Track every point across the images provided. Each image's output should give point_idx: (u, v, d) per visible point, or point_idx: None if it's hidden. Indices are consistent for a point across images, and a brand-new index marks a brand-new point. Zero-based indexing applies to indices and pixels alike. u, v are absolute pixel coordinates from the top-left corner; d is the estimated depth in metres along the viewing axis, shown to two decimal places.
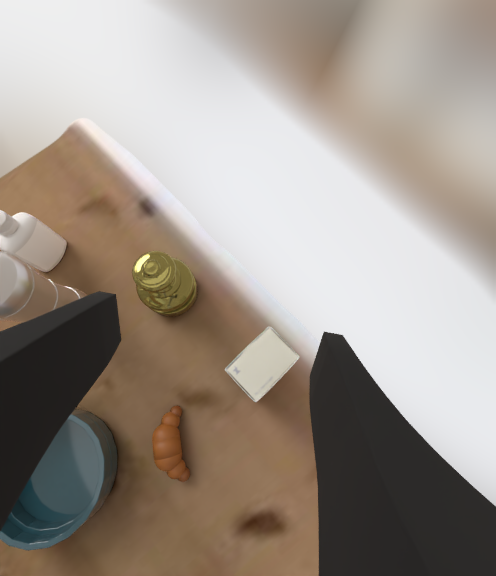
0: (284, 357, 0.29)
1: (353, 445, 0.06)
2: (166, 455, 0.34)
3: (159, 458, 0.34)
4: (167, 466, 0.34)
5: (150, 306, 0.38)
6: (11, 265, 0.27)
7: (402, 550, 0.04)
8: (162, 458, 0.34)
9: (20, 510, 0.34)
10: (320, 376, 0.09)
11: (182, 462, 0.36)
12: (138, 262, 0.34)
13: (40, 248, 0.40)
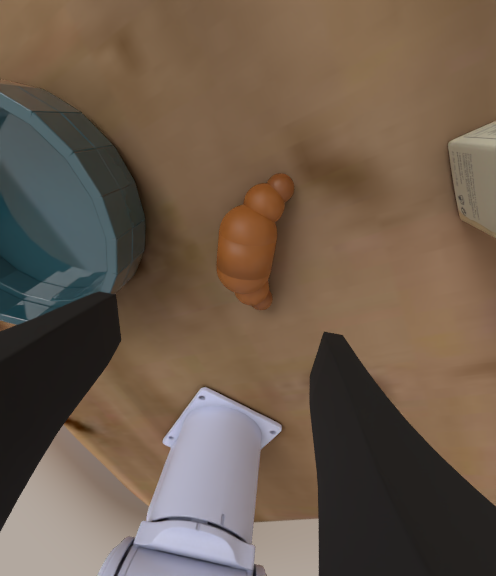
0: None
1: (353, 445, 0.06)
2: (244, 274, 0.16)
3: (228, 274, 0.16)
4: (240, 291, 0.17)
5: None
6: None
7: (402, 550, 0.04)
8: (235, 276, 0.16)
9: None
10: (320, 377, 0.09)
11: (266, 285, 0.18)
12: None
13: None
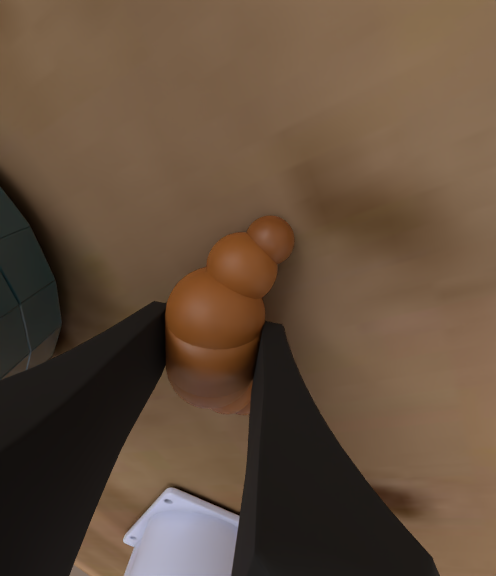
0: None
1: (258, 426, 0.06)
2: (208, 390, 0.09)
3: (180, 386, 0.09)
4: None
5: None
6: None
7: (253, 518, 0.04)
8: (192, 392, 0.09)
9: None
10: (256, 364, 0.09)
11: (250, 385, 0.11)
12: None
13: None
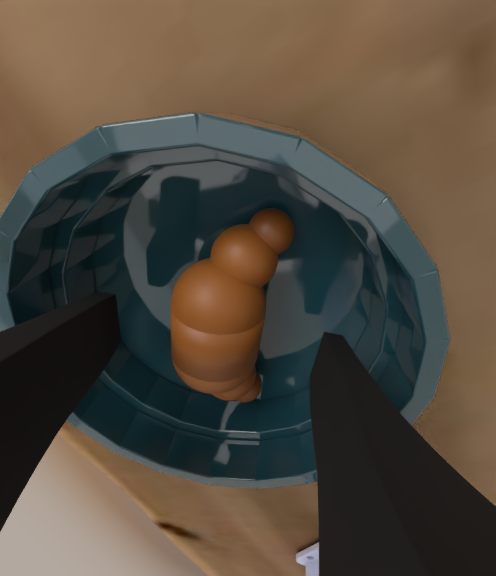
0: None
1: (353, 445, 0.06)
2: (212, 374, 0.10)
3: (185, 371, 0.10)
4: (207, 392, 0.11)
5: None
6: None
7: (402, 550, 0.04)
8: (197, 376, 0.10)
9: (121, 357, 0.14)
10: (320, 376, 0.09)
11: (251, 373, 0.12)
12: None
13: None
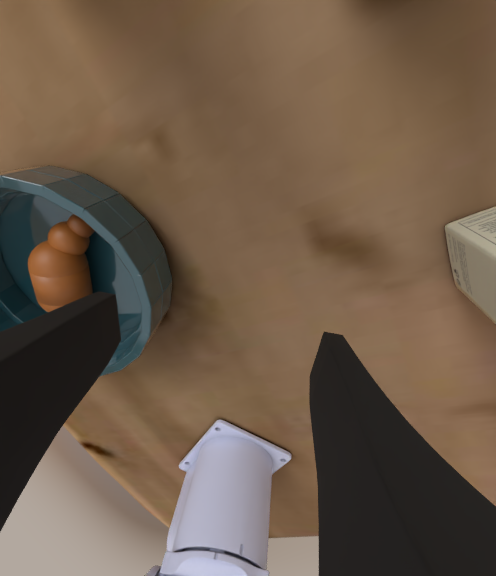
0: None
1: (353, 445, 0.06)
2: (51, 301, 0.18)
3: (39, 300, 0.18)
4: None
5: None
6: None
7: (402, 550, 0.04)
8: (44, 303, 0.18)
9: (23, 303, 0.22)
10: (320, 377, 0.09)
11: None
12: None
13: None
